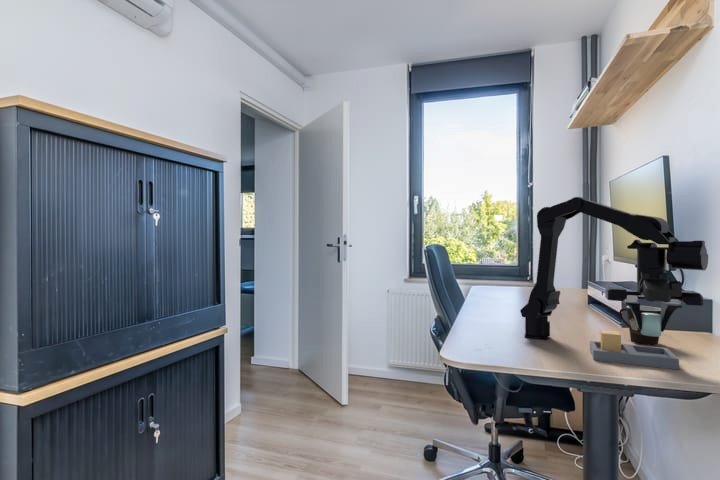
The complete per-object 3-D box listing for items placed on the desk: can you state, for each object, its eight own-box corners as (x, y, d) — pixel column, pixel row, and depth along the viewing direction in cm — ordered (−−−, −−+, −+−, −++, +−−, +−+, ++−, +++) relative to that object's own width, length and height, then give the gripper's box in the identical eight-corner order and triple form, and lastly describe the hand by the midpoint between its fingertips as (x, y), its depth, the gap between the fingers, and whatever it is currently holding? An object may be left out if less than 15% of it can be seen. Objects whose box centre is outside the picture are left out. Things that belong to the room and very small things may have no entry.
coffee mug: (669, 347, 108) (669, 311, 108) (634, 345, 110) (634, 310, 109) (647, 336, 119) (647, 304, 119) (616, 335, 121) (616, 303, 121)
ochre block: (602, 352, 99) (602, 333, 99) (600, 348, 103) (600, 329, 103) (621, 354, 97) (621, 335, 97) (618, 350, 101) (618, 331, 101)
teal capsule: (642, 335, 95) (642, 315, 95) (639, 331, 99) (639, 312, 99) (662, 337, 94) (663, 316, 94) (658, 333, 97) (658, 313, 97)
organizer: (593, 359, 97) (593, 350, 97) (589, 349, 106) (589, 340, 106) (678, 369, 90) (678, 359, 90) (667, 357, 99) (667, 348, 99)
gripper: (611, 268, 93) (610, 334, 93) (712, 271, 85) (711, 343, 85) (605, 265, 103) (604, 324, 103) (695, 267, 95) (694, 331, 95)
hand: (650, 330), depth 96 cm, fingers closed on teal capsule, 4 cm apart
